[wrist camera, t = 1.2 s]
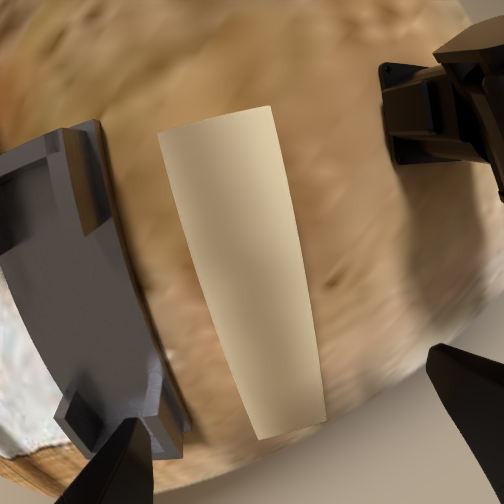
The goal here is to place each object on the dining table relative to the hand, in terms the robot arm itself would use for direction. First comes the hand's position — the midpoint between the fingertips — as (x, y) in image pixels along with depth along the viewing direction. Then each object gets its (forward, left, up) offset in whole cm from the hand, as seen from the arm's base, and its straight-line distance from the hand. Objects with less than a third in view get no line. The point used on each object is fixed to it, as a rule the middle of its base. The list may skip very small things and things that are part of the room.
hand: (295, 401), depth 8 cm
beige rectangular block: (0, 0, -11) cm, 11 cm away
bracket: (+11, +1, -11) cm, 15 cm away
